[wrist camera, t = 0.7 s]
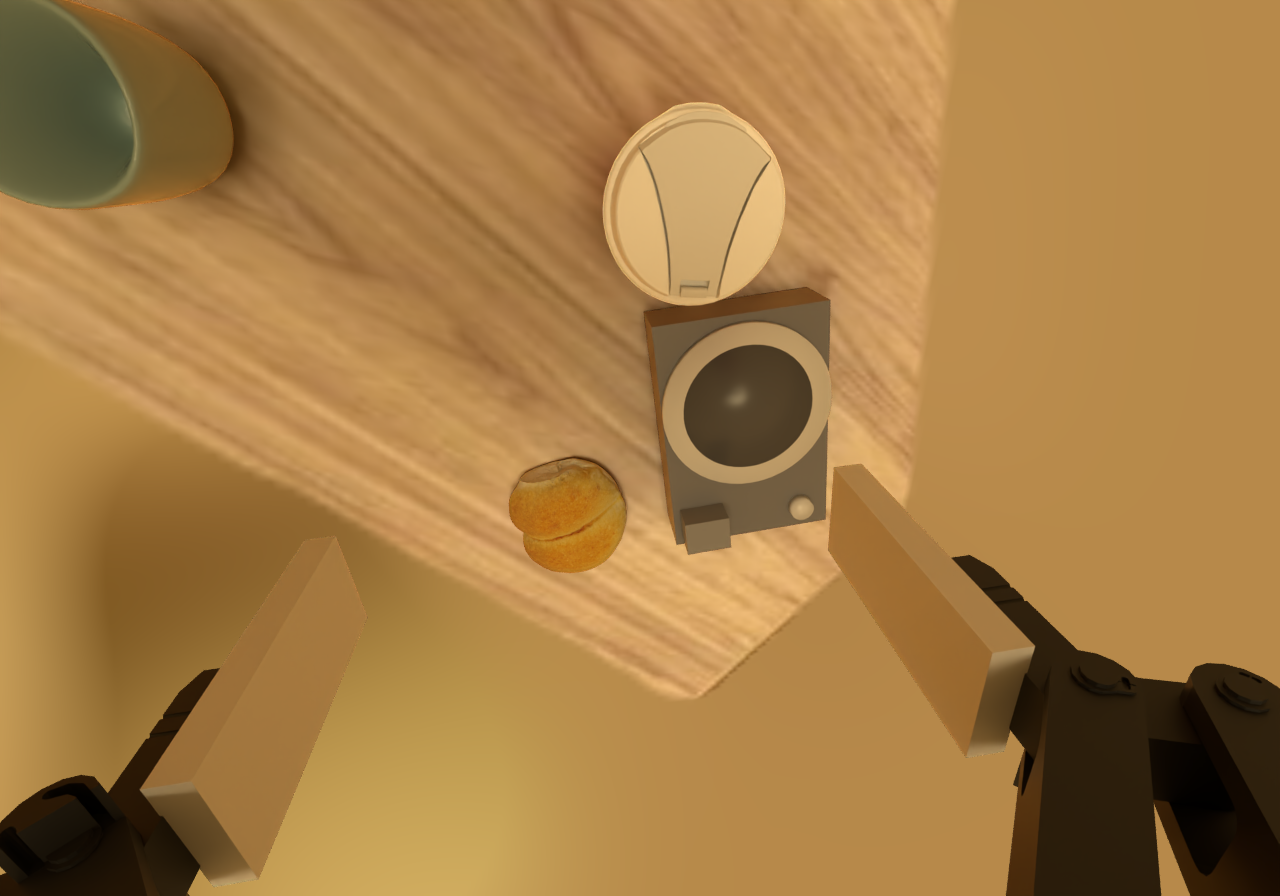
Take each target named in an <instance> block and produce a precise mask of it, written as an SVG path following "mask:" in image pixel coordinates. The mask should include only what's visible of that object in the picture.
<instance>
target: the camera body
mask: <svg viewBox="0 0 1280 896" xmlns="http://www.w3.org/2000/svg"><path fill="white" fill-rule="evenodd" d="M644 319H645V327H646V336H647V344H648V352H649V361H650V369H651V377H652V385H653V394H654V402H655V410H656V418H657V427H658V435H659V443H660V452H661V460H662V468H663V476H664V485H665V493H666V501H667V509H668V516H669V519H670V523H671V526H672V530H673V533H674V537H675V540H676V544H677V545H678V544H684V543H685V546H686V549H687V552H688V555H689V554H695V553H701V552H707V551H713V550H718V549H724V548H730V547H731V538H730V536H731V535H737V534H743V533H749V532H755V531H761V530H766V529H772V528H778V527H784V526H790V525H796V524H802V523H808V522H813V521H819V520H825V519H826V477H827V432H828V417H829V413H830V408H831V402H832V384H831V379H830V374H829V343H830V300H829V299H828V298H826V297H824V296H822V295H820V294H818V293H816V292H815V291H813V290H811V289H809V288H807V287H804V288H797V289H791V290H784V291H777V292H771V293H764V294H758V295H751V296H744V297H738V298H731V299H725V300H718V301H716V302H713V303H708V304H703V305H692V306H678V307H672V308H665V309H658V310H652V311H645V312H644Z"/></svg>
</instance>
